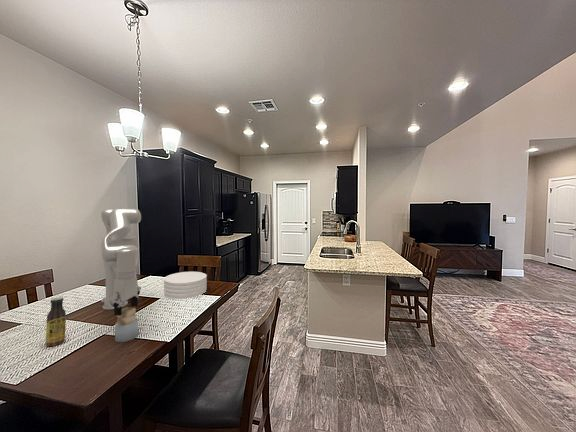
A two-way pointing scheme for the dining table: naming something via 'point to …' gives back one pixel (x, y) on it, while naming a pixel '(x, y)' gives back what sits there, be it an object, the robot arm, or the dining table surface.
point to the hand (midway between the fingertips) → (126, 310)
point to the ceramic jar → (126, 331)
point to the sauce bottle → (56, 323)
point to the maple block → (127, 316)
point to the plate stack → (185, 285)
